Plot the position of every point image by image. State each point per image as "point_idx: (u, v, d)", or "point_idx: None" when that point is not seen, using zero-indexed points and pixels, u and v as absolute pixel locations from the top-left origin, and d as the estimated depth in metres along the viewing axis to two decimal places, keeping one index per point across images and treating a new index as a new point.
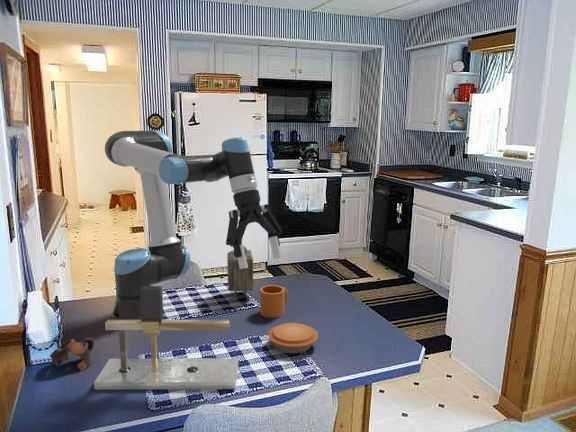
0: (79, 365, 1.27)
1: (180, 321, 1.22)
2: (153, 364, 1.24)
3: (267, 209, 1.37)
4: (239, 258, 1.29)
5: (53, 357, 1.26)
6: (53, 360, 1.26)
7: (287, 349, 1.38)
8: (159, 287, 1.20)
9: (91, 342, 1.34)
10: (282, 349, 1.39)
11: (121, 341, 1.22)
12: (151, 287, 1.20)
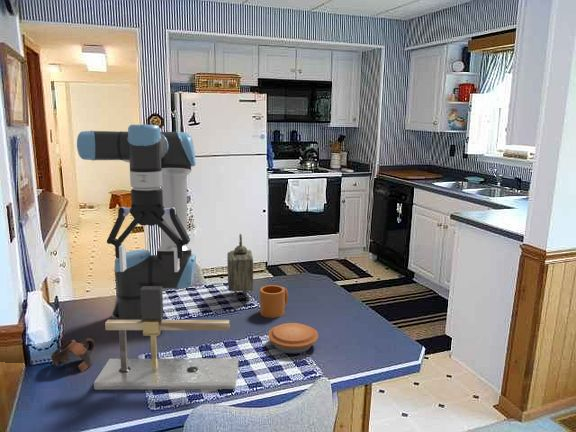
0: (80, 366, 1.26)
1: (180, 321, 1.22)
2: (153, 364, 1.24)
3: (170, 214, 1.15)
4: None
5: (54, 358, 1.25)
6: (54, 361, 1.26)
7: (287, 349, 1.38)
8: (159, 287, 1.20)
9: (92, 343, 1.33)
10: (282, 349, 1.39)
11: (121, 341, 1.22)
12: (151, 287, 1.20)
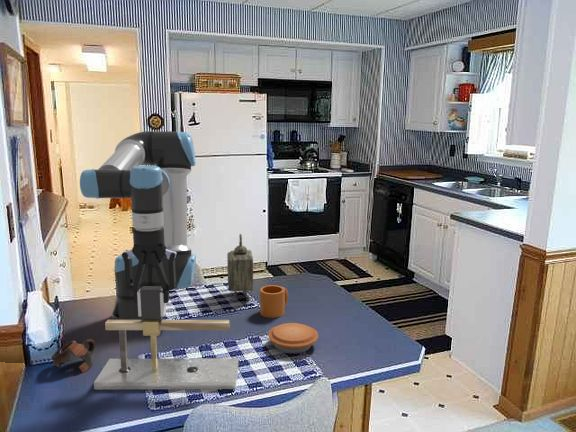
0: (81, 367, 1.26)
1: (180, 321, 1.22)
2: (153, 364, 1.24)
3: (170, 258, 1.17)
4: None
5: (54, 359, 1.25)
6: (54, 362, 1.25)
7: (287, 349, 1.38)
8: (159, 287, 1.20)
9: (93, 343, 1.33)
10: (282, 349, 1.39)
11: (121, 341, 1.22)
12: (151, 287, 1.20)
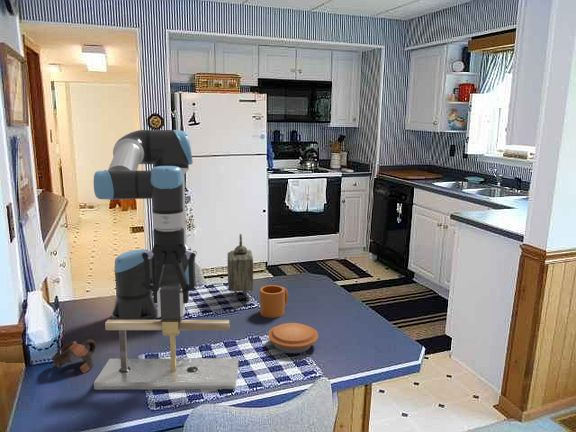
0: (82, 367, 1.26)
1: None
2: (172, 364, 1.24)
3: (190, 258, 1.17)
4: None
5: (55, 360, 1.25)
6: (55, 363, 1.25)
7: (287, 349, 1.38)
8: (179, 287, 1.20)
9: (93, 344, 1.33)
10: (282, 349, 1.39)
11: (121, 341, 1.22)
12: (171, 287, 1.20)
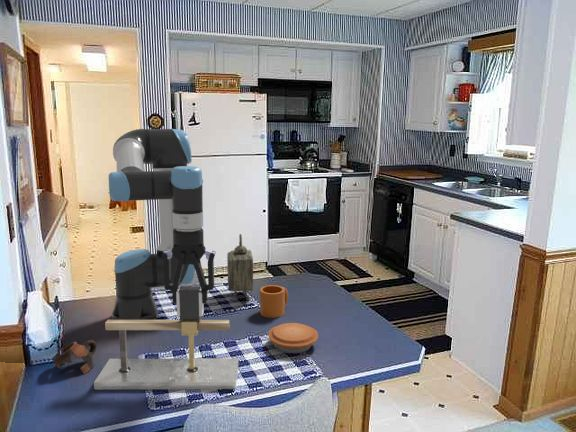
0: (82, 368, 1.25)
1: None
2: (190, 364, 1.24)
3: (209, 258, 1.18)
4: None
5: (56, 360, 1.24)
6: (56, 363, 1.24)
7: (287, 349, 1.38)
8: (197, 287, 1.21)
9: (94, 344, 1.32)
10: (282, 349, 1.39)
11: (121, 341, 1.22)
12: (190, 287, 1.21)
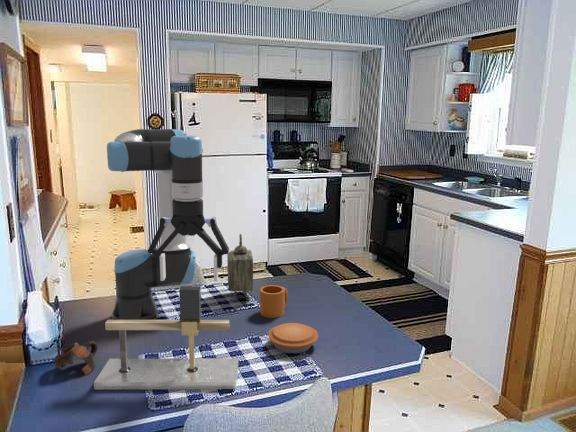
0: (84, 369, 1.25)
1: None
2: (191, 364, 1.24)
3: (211, 225, 1.16)
4: None
5: (57, 361, 1.24)
6: (57, 364, 1.24)
7: (287, 349, 1.38)
8: (198, 287, 1.21)
9: (95, 345, 1.32)
10: (282, 349, 1.39)
11: (121, 341, 1.22)
12: (190, 287, 1.21)
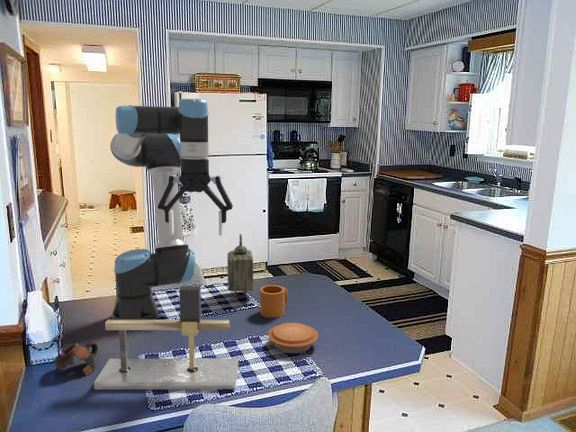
0: (84, 370, 1.25)
1: None
2: (191, 364, 1.24)
3: (216, 182, 1.26)
4: None
5: (57, 362, 1.23)
6: (57, 365, 1.23)
7: (287, 349, 1.38)
8: (198, 287, 1.21)
9: (95, 346, 1.32)
10: (282, 349, 1.39)
11: (121, 341, 1.22)
12: (190, 287, 1.21)
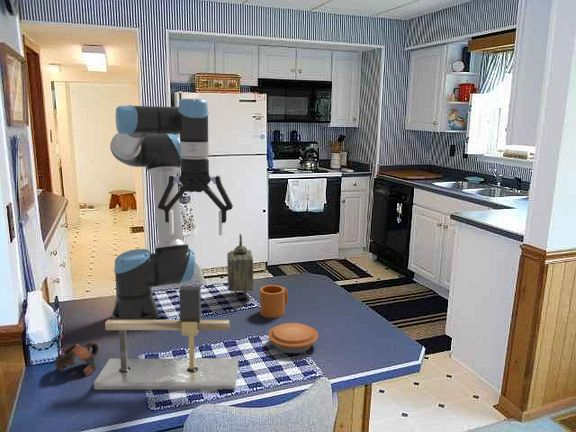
0: (85, 370, 1.24)
1: None
2: (191, 364, 1.24)
3: (216, 182, 1.26)
4: None
5: (58, 362, 1.23)
6: (58, 366, 1.23)
7: (287, 349, 1.38)
8: (198, 287, 1.21)
9: (96, 346, 1.31)
10: (282, 349, 1.39)
11: (121, 341, 1.22)
12: (190, 287, 1.21)
